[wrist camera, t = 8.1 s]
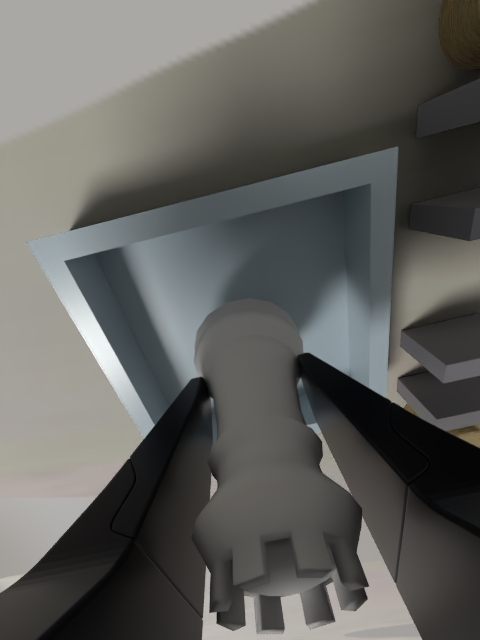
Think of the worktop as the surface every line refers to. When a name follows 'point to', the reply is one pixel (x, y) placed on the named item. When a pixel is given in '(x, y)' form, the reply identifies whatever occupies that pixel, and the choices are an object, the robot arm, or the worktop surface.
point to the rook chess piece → (269, 479)
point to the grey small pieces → (456, 334)
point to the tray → (235, 277)
